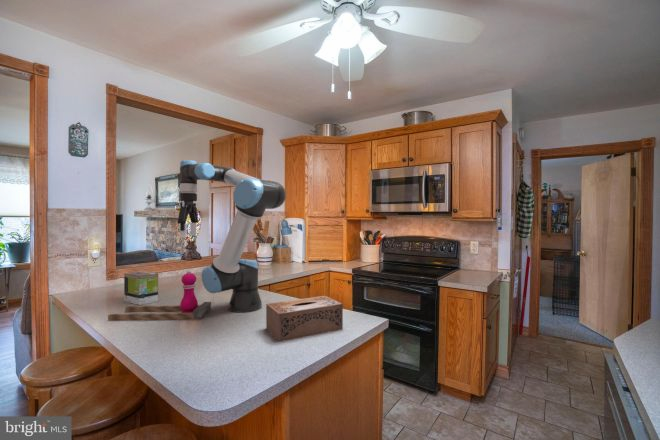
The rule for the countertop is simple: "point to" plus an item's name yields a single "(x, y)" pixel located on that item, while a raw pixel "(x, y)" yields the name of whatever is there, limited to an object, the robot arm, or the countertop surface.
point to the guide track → (197, 314)
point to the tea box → (141, 287)
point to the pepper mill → (188, 293)
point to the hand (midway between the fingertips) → (188, 236)
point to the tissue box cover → (303, 317)
